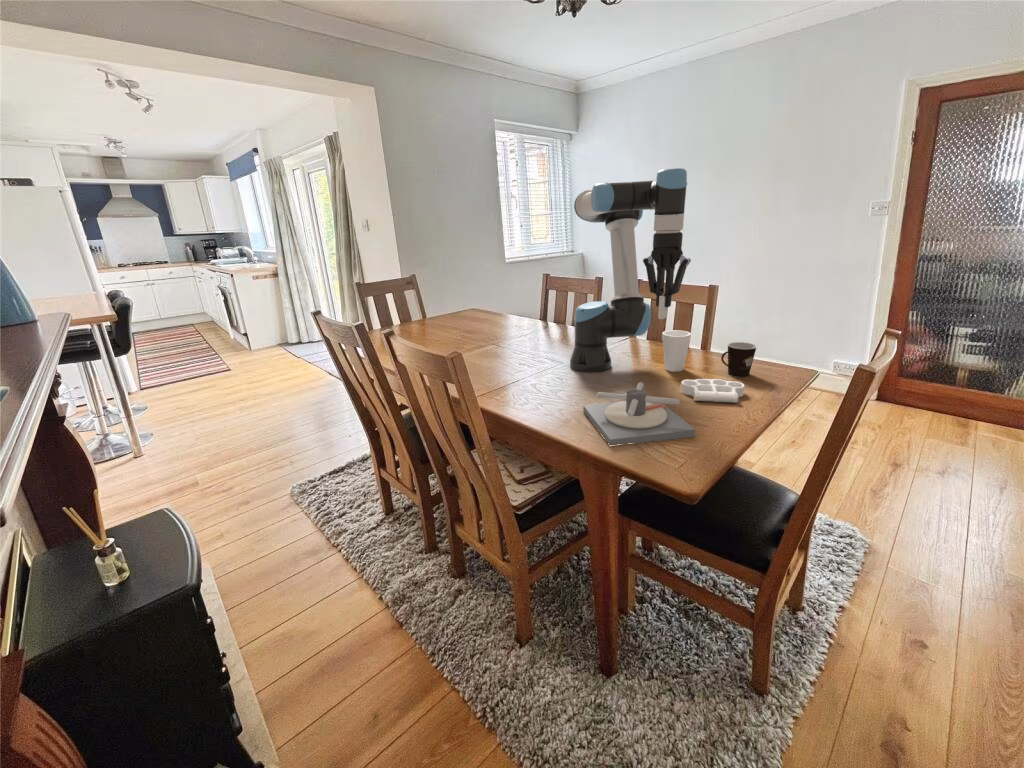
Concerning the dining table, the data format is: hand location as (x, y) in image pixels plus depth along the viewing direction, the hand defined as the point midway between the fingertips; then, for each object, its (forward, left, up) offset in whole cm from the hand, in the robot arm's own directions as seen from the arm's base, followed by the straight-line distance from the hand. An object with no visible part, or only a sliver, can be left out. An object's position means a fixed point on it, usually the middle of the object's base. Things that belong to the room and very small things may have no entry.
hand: (662, 318), depth 131 cm
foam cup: (-23, +17, -25) cm, 38 cm away
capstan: (+16, -14, -22) cm, 31 cm away
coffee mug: (-12, +33, -25) cm, 43 cm away
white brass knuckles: (+2, +16, -25) cm, 30 cm away
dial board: (+16, -14, -24) cm, 32 cm away
